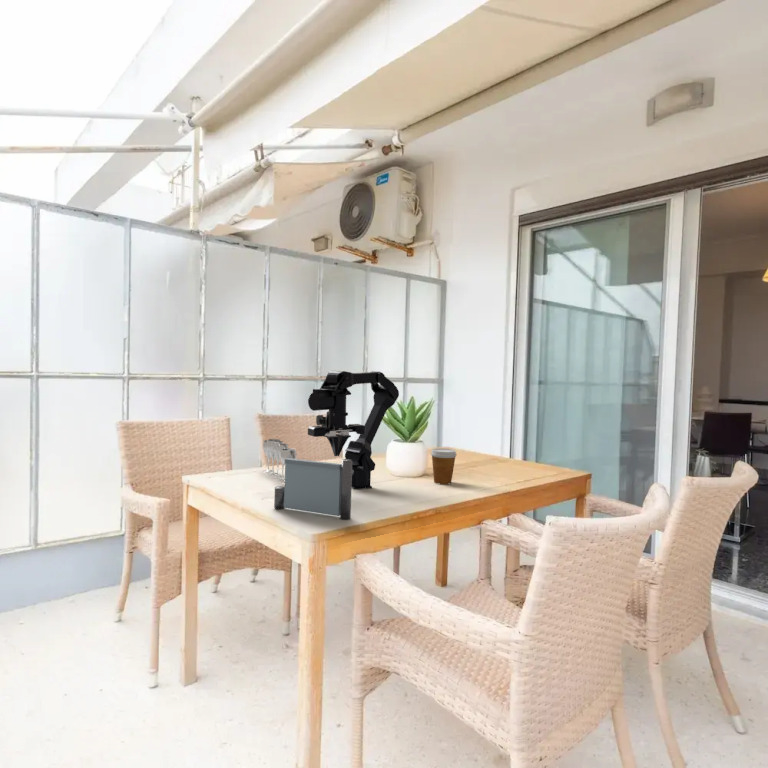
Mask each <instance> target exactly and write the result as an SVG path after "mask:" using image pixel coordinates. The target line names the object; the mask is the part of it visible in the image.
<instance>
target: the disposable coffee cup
mask: <svg viewBox="0 0 768 768" xmlns="http://www.w3.org/2000/svg"><path fill="white" fill-rule="evenodd" d="M430 455H431V461H432V472H433V475H432V476H433V482H434V483H435V484H437V483H440V484H439V485H449V484H448V483H451V484H452V481H453V473H454V469H455V462H456V461H455V460H456V458H457V451H456V450H455V449H453V448H451V449H450V448H433V449H432V450H431V452H430Z"/></svg>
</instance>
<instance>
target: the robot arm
mask: <svg viewBox="0 0 768 768" xmlns="http://www.w3.org/2000/svg"><path fill="white" fill-rule="evenodd" d="M360 384H361V385H362V384H364V385H365V384H370V388H371V391H372V392H373V396H372V397H373V406H372V408H371V410H370V412H369V415H368V416H367V419H366V421H365V423H364V424H360V423H349V424H347V416H349V413H348V411H347V396H351V395H352V393H351V391H350V390H349V389H348V388H351V387H352V386H356V385H360ZM399 395H400V392H399V389H398V387H397V386H396V385H395V384H394V382H392V381H391V380H390V379H389V378H388V377H386V376H385V374H384V373H383V372H382V371H373V370H372V371H368V372H365V371H364V372H351V371H345V370H330V371H328V372H327V374H326V377H325V379H324V380H323V381H322V384H321V386H320V388H313V389H312V393H310V395H309V396H308V399H307V403H308V407H309V409H310V410H312V411H313V412H314V411H326V410H327V411H326V415H325V416H324V415H323V414H319V415H318V414H317V415H316V418H315V423H316V425H309V426H308V427H307V435H308V436H311V437H313V438H314V437H315V438H317V437H318V438H319V437H324V438H327V440H328V442H329V444H330V447H331V450H332V454H333V455H334V457H340V455H341V453H342V450H343V448H344V446H345V444H346V443H347V442H348V440H349V438H351V437H352V435H350V433H355V434H357V435H359V436H358V438H357V439H356V440H350V441H349V443H348V445H347V447H346V449H345V450H344V451H345V455H344V458H345V459H350V460H352V485H351V488H353V489H354V490H358V489H360V490H361V489H372V488H373V486H372V485H371V479H372V478H371V477H372V476H371V475H372V471H374V470H375V469H376V463H375V461H374V460H373V459H372V457H371V456H372V454H373V450H372V444H373V441H374V438H375V437H376V435H377V432H378V430H379V428H380V426H381V423H382V421H383V419H384V417H385V415H386V413H387V410H389V409H390V408H391V407H392V406H394V405H395V403H396V402H397V400H398V399H399Z"/></svg>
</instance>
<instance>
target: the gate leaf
mask: <svg viewBox="0 0 768 768" xmlns="http://www.w3.org/2000/svg"><path fill="white" fill-rule="evenodd" d="M341 477H342V463H337V462H329V461H328V462H327V461H319V460H317V461H316V460H308V459H298V458H297V459H291V458H287V459H285V464H284V479H285V481H284V482H285V485H284V487H285V492H284V509H290V510H295V511H303V512H309V513H316V514H322V515H329V516H334V517H335V516H336V517H340V510H341Z"/></svg>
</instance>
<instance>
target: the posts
mask: <svg viewBox="0 0 768 768" xmlns="http://www.w3.org/2000/svg"><path fill="white" fill-rule="evenodd" d="M341 464H342V477H341V510H340V516H339V517H340V518H339V519H340V520H343V521H345V520H347V521H348V520H351V514H352V513H351V510H352V507H351V506H352V487H351V485H352V460H350V459H346V458H345V459H341ZM284 492H285V486H282V485H281V486H280V485H279V486H278V485H277V486H275V487H274V502H273V503H274V505H273V507H274V508H275V509H274V510H284V509H285V508H284Z"/></svg>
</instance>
